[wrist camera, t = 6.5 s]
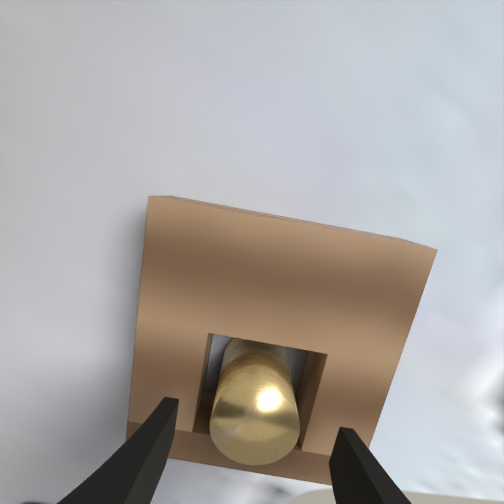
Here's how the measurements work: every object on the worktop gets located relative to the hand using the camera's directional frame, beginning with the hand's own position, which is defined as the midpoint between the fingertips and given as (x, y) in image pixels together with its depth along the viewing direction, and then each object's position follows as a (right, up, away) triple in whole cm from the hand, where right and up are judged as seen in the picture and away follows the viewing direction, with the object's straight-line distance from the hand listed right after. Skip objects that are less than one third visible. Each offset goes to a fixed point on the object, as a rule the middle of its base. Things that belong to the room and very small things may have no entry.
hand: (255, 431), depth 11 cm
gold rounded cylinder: (0, +1, +5) cm, 5 cm away
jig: (0, +3, +5) cm, 6 cm away
